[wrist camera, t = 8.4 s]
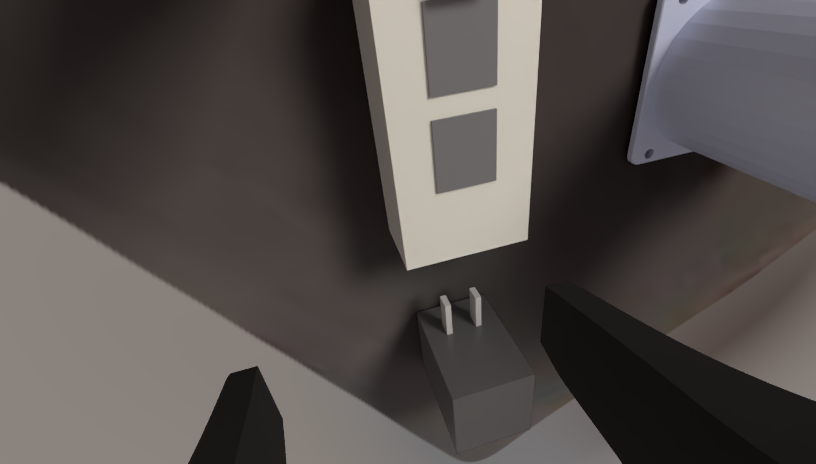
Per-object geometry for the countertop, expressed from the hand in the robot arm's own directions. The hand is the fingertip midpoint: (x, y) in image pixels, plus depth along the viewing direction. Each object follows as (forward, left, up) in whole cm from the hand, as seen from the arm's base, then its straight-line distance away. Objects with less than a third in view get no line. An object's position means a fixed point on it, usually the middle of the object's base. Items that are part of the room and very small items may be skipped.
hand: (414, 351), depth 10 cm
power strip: (-4, -7, -10) cm, 13 cm away
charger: (-4, +11, -10) cm, 15 cm away
